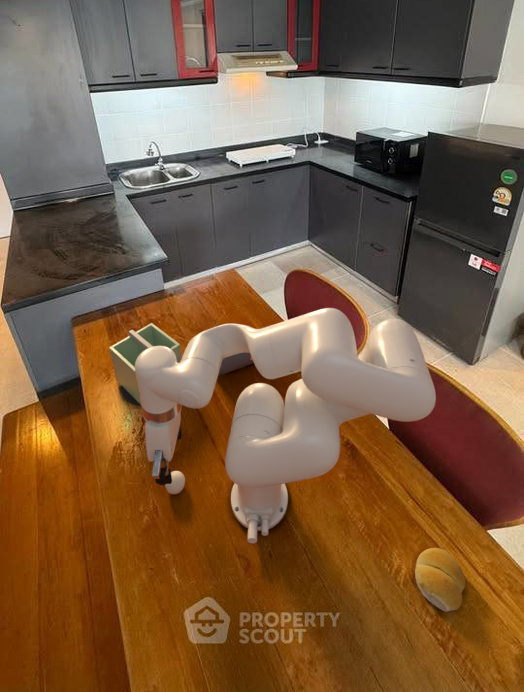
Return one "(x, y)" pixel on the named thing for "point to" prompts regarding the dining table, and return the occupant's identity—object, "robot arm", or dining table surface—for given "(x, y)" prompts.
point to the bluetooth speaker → (235, 362)
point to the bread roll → (440, 579)
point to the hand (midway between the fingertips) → (169, 458)
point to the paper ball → (176, 483)
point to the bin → (132, 348)
